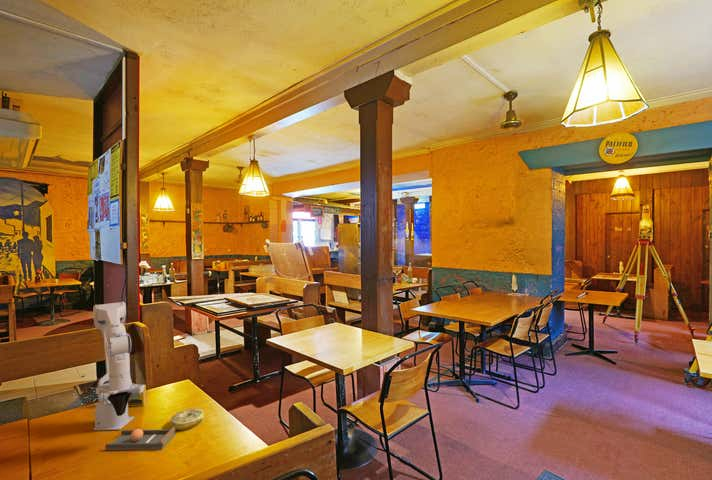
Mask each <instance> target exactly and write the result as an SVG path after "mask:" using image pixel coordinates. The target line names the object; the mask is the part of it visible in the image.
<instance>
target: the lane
mask: <svg viewBox="0 0 712 480" xmlns="http://www.w3.org/2000/svg"><path fill="white" fill-rule="evenodd" d="M134 430H135V429H121V431H120V434H121V435H119V436H118V437H117V438H115V440H113V442H111V443H105V446H104V447H105V451H145V450H146V451H150V450H153V451H155V450H160V451H161V450H163V449H164V448H165V447H166V446H167V445H168V444H169V442H171V440H172V439H173V438H174V437H175V436H176V430H175V427H172V426H171V429H141V430H142V431H143V437H142V438H141V439H140V440H139V441H132V440H131V438H130V436H131V433H132V432H133V431H134Z"/></svg>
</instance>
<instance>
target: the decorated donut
mask: <svg viewBox="0 0 712 480" xmlns="http://www.w3.org/2000/svg"><path fill="white" fill-rule="evenodd" d="M204 417H205V415H204V411H203V410H201V409H200V408H197V407H192V408H188V409H187V408H186V409H183V410H181V411H178V412H176V413H174V414H173V415H172V416H171V418H170V420H169V425H170V426H171V428H172V427H175V431H186V430H189V429H192V428H195V427H196V426H198V425H199V423H201V422H202V420H204Z"/></svg>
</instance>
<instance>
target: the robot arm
mask: <svg viewBox="0 0 712 480" xmlns="http://www.w3.org/2000/svg"><path fill="white" fill-rule="evenodd" d="M126 306H127V305H126V302H124V301H121V302H110V303H104V304H103V303H102V304H95V305H93V308H92V309H93V310H92V312H93V313H92V314H93V325H94V327H95V329H96V330H99V331H101V333H102V335H103V342H104V343H103V345H104V357H105V369H106V373H105V374H104V375H103V376H102V377H101V378H100V379H98V382H97V387H96V388H95V394H96V395H97V398H98V402H97V403H96V405H95V408H94V426H95V427H93V431H119V430H122V429H123V428H124V427H126V426H127V425H128V424H129V423H130V422H131V421H132V420H133V419H134V418H135V416H129V406H128V400H129V398H130V396H131V394H132V393H134V392H137V393H141V392H143V391H144V385H145V384H136V383H133V382H132V381H133V380H132V377H131V366H130V365H131V361H130V360H131V359H130V358H131V357H130V353H131V351H132V339H131V335H130V334H129V333H127V331H126V327H125V322H126V316H127V307H126Z"/></svg>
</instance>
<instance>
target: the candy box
mask: <svg viewBox="0 0 712 480" xmlns="http://www.w3.org/2000/svg"><path fill="white" fill-rule="evenodd" d="M143 385H144V391H143V392H141V393H137V392H134V393H132V394H131V396H130V398H129V400H128V407H145V406H147V403H148V402H147V387H146V384H143Z"/></svg>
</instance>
